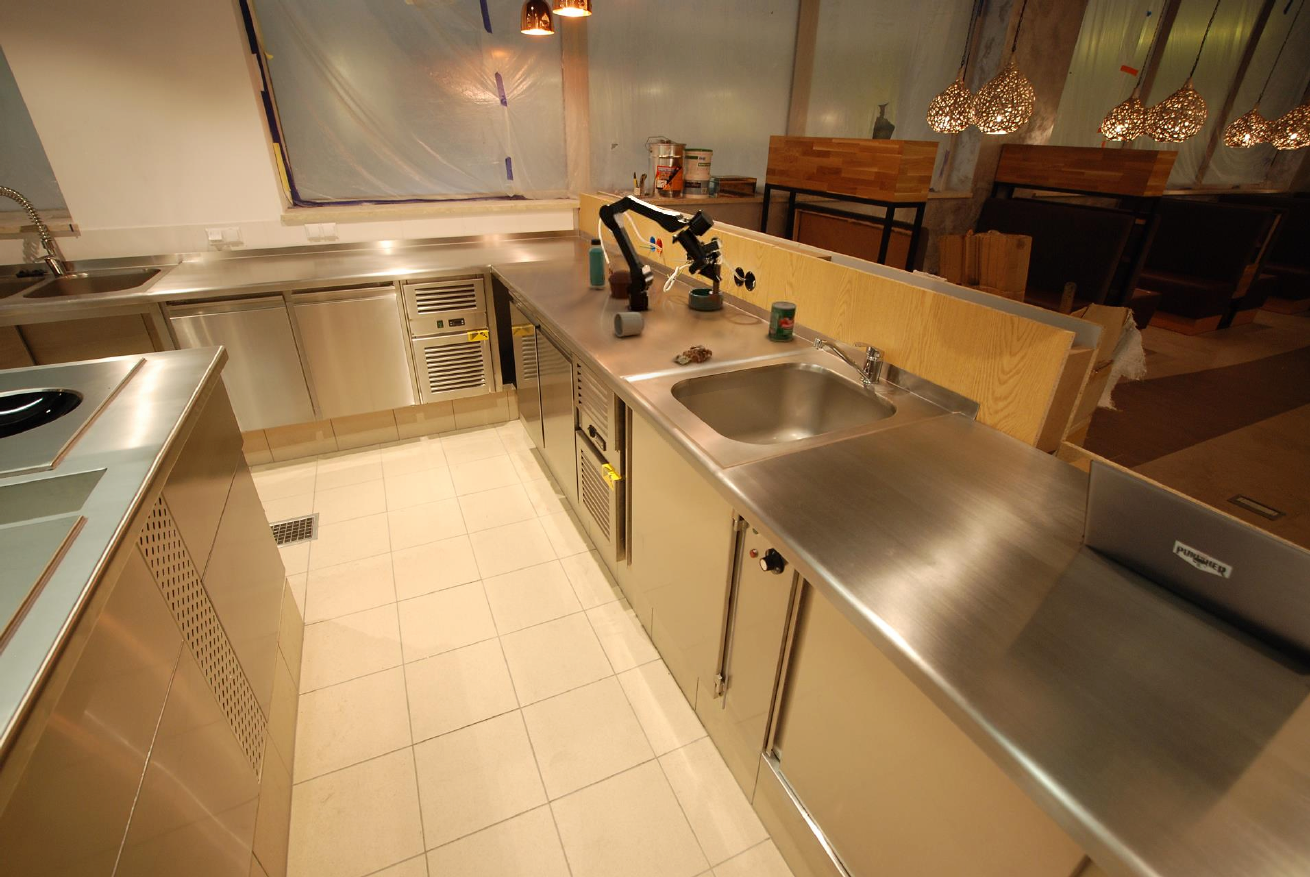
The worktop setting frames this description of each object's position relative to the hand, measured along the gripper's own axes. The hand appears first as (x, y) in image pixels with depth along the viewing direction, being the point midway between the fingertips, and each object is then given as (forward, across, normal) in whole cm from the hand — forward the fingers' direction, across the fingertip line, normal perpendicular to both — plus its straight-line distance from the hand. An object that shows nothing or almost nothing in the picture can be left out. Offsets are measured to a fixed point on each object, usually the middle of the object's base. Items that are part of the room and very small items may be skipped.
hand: (720, 281), depth 200 cm
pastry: (+14, -41, +5) cm, 44 cm away
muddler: (+4, 0, +6) cm, 7 cm away
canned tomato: (+28, -10, -8) cm, 30 cm away
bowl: (+3, +14, +16) cm, 22 cm away
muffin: (-22, +14, +42) cm, 49 cm away
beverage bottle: (-32, +20, +53) cm, 65 cm away
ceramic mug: (-6, -29, +26) cm, 39 cm away
